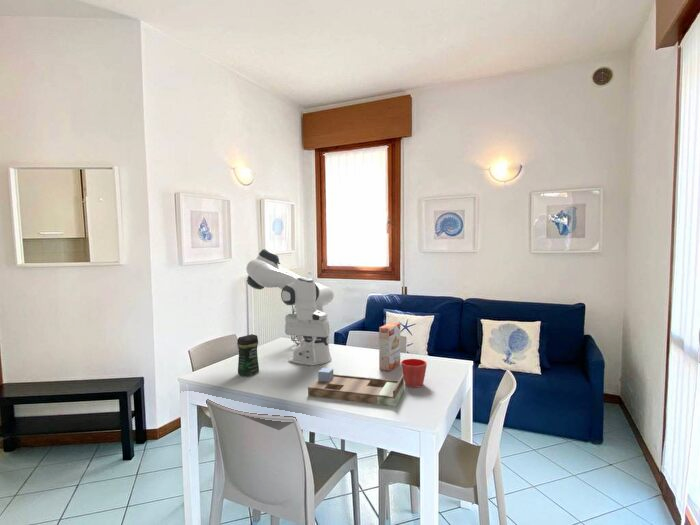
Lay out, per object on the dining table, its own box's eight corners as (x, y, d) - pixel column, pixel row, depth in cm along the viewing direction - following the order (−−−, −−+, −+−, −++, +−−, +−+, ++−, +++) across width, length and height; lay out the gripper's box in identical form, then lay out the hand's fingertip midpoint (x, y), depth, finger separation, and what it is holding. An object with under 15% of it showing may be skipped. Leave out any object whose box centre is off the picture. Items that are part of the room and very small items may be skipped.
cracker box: (390, 371, 183) (389, 328, 182) (378, 370, 186) (378, 327, 185) (401, 363, 195) (400, 322, 194) (390, 361, 198) (389, 321, 197)
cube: (318, 380, 165) (318, 371, 164) (323, 376, 169) (322, 367, 169) (329, 381, 163) (329, 372, 163) (333, 377, 168) (333, 368, 168)
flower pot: (409, 377, 174) (409, 356, 174) (431, 383, 167) (430, 361, 167) (396, 385, 166) (396, 362, 165) (419, 390, 159) (418, 367, 158)
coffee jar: (246, 378, 178) (244, 338, 177) (235, 375, 183) (233, 336, 182) (262, 372, 186) (260, 334, 185) (251, 369, 190) (250, 332, 189)
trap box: (308, 395, 156) (307, 381, 156) (324, 381, 172) (323, 368, 172) (395, 406, 144) (395, 390, 144) (403, 389, 160) (403, 375, 160)
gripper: (281, 314, 168) (282, 346, 169) (325, 316, 161) (325, 349, 162) (288, 312, 174) (289, 342, 175) (330, 314, 167) (331, 345, 168)
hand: (307, 345), depth 168 cm, fingers open, 3 cm apart
